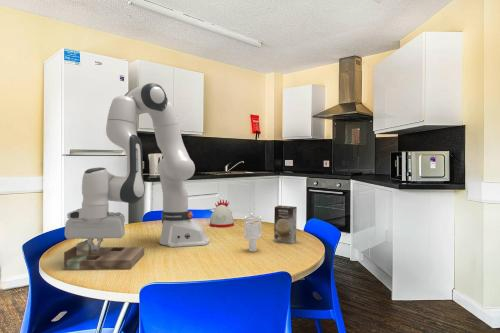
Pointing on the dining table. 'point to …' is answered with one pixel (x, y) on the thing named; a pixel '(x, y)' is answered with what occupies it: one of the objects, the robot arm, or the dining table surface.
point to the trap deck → (103, 258)
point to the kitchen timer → (221, 216)
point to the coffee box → (285, 224)
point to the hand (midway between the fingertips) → (95, 250)
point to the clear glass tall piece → (252, 230)
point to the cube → (83, 248)
